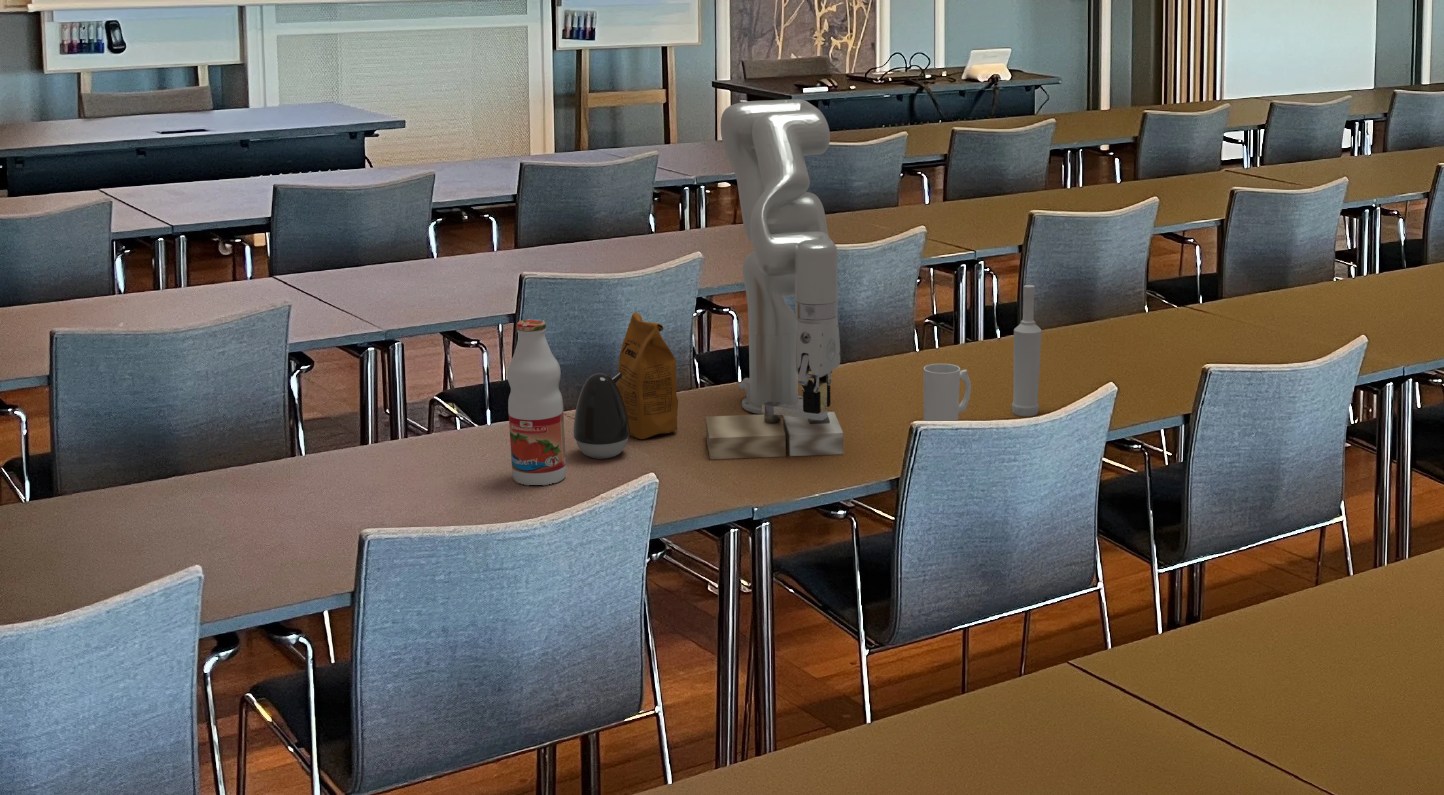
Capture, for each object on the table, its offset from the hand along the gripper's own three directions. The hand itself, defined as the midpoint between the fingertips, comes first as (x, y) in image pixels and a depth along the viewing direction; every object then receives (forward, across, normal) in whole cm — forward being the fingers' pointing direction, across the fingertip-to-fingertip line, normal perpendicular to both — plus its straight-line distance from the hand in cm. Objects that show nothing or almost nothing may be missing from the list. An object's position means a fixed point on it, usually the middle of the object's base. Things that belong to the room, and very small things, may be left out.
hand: (816, 408), depth 299 cm
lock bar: (+3, 0, +4) cm, 6 cm away
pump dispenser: (+8, -18, +34) cm, 40 cm away
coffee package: (+8, -2, +34) cm, 35 cm away
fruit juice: (+8, -34, +38) cm, 51 cm away
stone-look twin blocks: (+8, -1, +8) cm, 11 cm away
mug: (+8, +21, -18) cm, 28 cm away
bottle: (+8, +36, -28) cm, 46 cm away
